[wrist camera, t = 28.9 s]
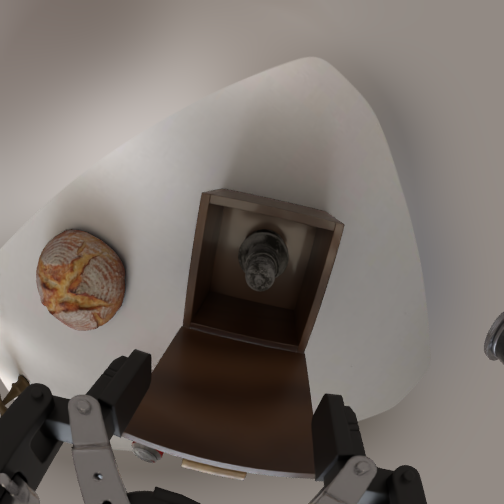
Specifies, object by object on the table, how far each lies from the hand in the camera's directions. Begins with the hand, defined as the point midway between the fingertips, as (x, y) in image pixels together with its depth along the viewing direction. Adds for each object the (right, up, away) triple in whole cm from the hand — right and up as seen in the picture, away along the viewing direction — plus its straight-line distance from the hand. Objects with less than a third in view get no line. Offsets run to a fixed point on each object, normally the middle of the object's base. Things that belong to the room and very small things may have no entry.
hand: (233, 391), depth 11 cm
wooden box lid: (-1, -5, +10) cm, 11 cm away
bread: (-27, +2, +30) cm, 40 cm away
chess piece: (+2, +7, +25) cm, 26 cm away
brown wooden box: (+2, +6, +26) cm, 27 cm away
